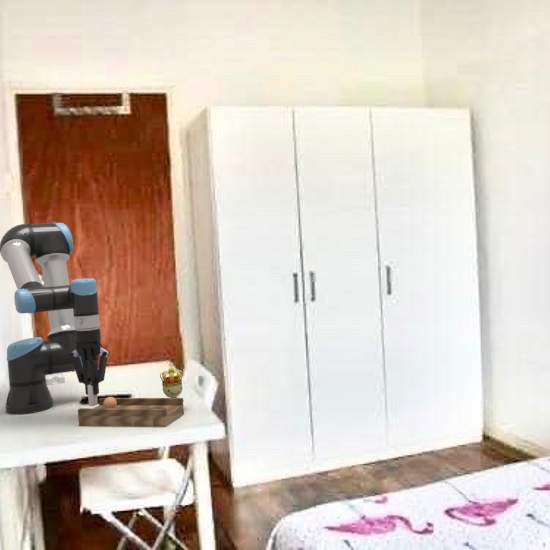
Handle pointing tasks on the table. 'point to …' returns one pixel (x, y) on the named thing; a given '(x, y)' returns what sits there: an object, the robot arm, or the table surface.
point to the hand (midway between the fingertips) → (93, 405)
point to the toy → (172, 383)
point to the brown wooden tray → (133, 412)
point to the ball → (110, 402)
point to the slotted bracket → (55, 378)
